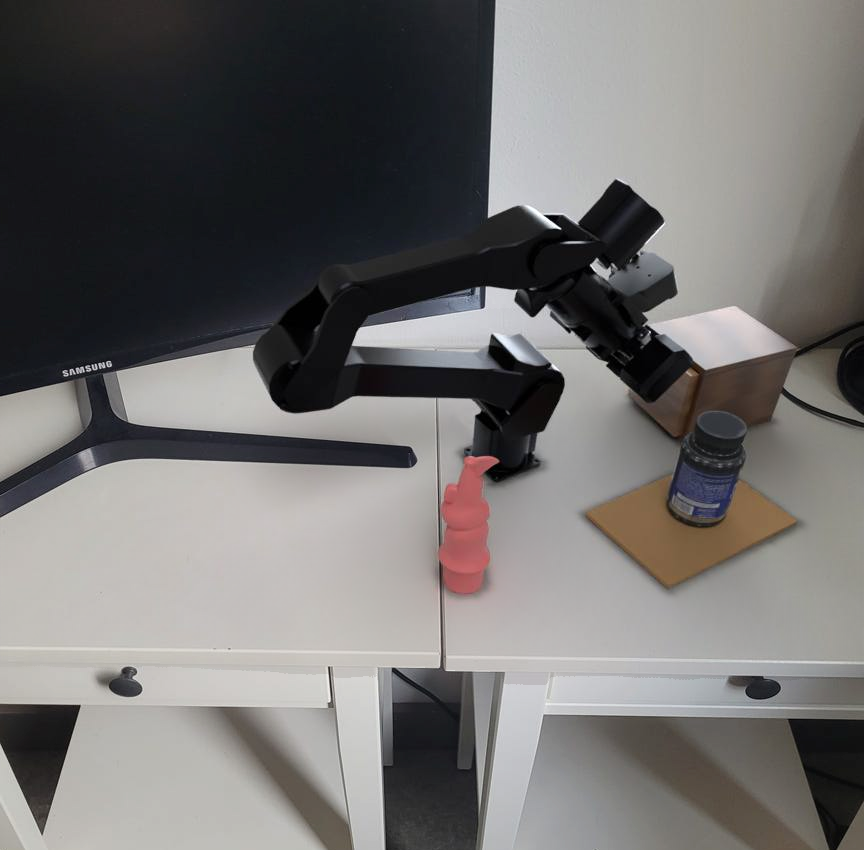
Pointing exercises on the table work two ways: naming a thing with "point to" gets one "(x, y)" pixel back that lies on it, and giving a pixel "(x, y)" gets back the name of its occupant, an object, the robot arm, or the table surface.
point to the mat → (685, 530)
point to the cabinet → (732, 363)
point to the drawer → (672, 403)
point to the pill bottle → (708, 469)
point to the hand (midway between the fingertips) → (650, 371)
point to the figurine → (466, 528)
